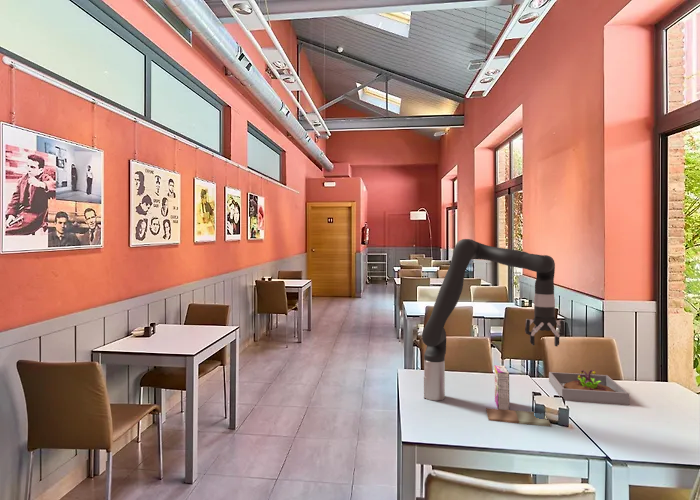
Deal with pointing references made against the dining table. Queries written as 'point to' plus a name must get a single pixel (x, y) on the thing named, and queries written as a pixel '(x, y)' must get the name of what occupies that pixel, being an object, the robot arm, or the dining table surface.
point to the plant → (587, 383)
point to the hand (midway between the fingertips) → (544, 345)
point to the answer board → (515, 417)
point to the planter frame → (589, 395)
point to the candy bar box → (501, 387)
